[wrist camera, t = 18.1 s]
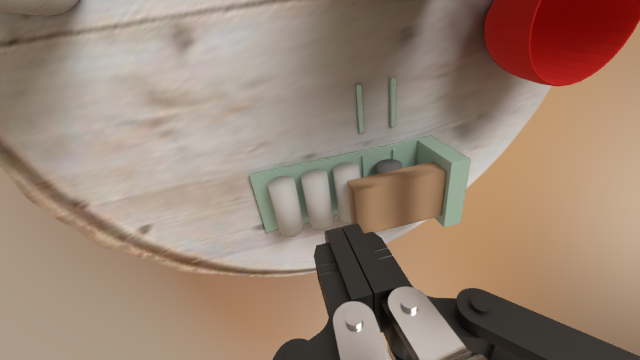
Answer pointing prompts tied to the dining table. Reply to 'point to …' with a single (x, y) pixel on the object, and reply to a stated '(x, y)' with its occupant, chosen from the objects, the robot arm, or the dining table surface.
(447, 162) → the roller track
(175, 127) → the dining table surface
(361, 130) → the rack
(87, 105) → the dining table surface
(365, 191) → the walnut slab
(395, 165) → the roller
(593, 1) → the ceramic cup
